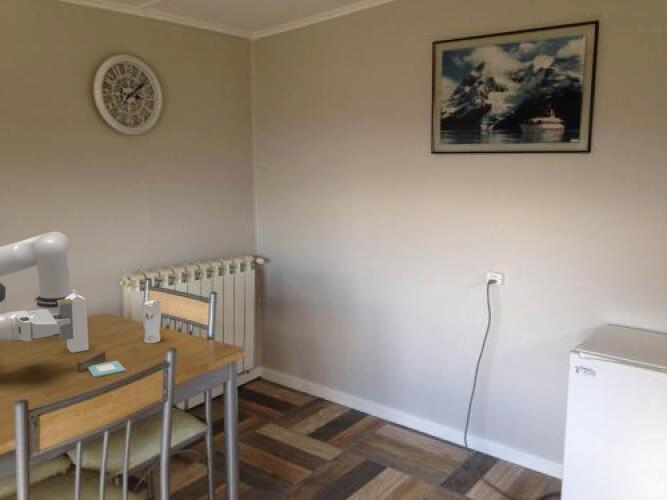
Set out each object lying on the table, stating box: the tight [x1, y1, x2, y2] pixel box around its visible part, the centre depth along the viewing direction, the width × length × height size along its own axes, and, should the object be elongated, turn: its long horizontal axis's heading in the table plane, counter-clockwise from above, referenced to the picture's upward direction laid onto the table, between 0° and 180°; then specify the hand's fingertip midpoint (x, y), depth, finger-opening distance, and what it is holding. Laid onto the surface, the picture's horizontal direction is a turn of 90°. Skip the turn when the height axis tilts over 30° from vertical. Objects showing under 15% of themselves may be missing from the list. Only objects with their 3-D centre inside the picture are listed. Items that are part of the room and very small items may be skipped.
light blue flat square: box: [87, 360, 127, 378], centre depth 193 cm, size 10×10×1 cm
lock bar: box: [57, 299, 73, 341], centre depth 191 cm, size 4×4×13 cm
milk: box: [65, 288, 89, 354], centre depth 210 cm, size 6×6×22 cm
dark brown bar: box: [76, 350, 107, 373], centre depth 196 cm, size 2×12×3 cm, turn 165°
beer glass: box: [141, 300, 162, 344], centre depth 222 cm, size 7×7×15 cm
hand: (68, 318), depth 191 cm, fingers closed on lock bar, 4 cm apart
